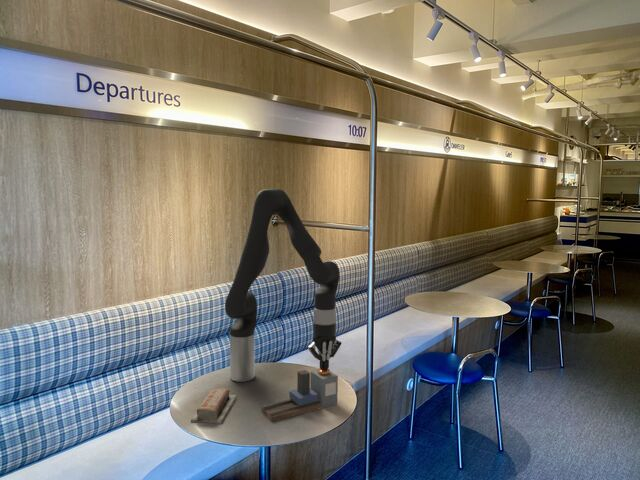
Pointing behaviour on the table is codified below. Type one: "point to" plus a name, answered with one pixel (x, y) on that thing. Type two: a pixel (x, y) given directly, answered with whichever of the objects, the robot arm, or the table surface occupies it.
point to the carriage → (303, 390)
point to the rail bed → (287, 409)
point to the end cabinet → (325, 388)
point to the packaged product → (214, 406)
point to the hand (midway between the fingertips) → (324, 370)
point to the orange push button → (323, 372)
